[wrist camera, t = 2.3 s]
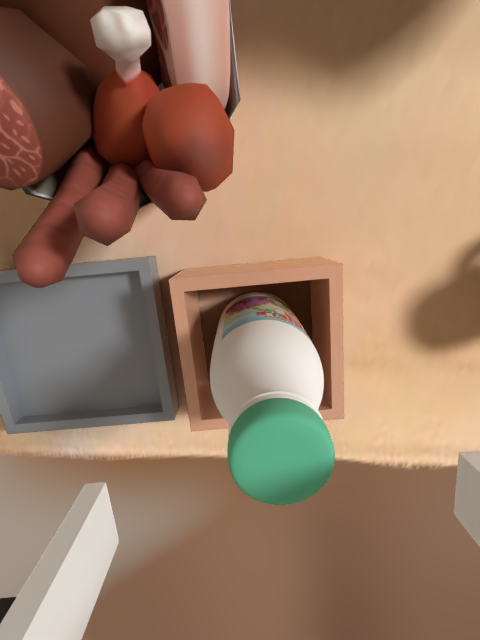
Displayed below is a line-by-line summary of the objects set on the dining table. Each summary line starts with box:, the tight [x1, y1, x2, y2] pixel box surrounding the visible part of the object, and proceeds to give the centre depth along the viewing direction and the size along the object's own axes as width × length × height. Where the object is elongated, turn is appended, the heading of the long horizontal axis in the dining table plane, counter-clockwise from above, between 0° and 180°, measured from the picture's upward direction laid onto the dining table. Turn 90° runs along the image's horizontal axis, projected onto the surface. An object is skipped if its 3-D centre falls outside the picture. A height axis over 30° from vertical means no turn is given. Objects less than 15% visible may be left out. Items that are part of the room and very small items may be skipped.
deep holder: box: [169, 257, 344, 431], centre depth 30 cm, size 13×13×7 cm
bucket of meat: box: [0, 0, 240, 288], centre depth 19 cm, size 20×16×20 cm
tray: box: [0, 256, 179, 434], centre depth 32 cm, size 16×17×2 cm
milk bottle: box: [210, 292, 335, 505], centre depth 23 cm, size 8×8×20 cm
